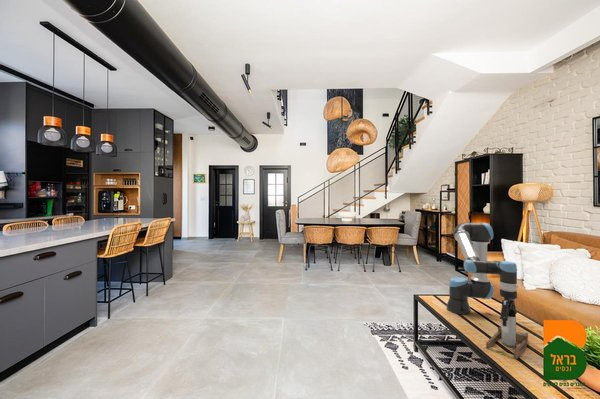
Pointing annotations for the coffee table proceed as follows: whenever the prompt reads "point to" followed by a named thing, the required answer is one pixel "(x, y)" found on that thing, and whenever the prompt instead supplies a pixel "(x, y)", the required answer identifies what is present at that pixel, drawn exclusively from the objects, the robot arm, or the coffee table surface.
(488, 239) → the robot arm
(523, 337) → the bay
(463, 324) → the coffee table surface
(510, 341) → the travel mug
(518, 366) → the coffee table surface
